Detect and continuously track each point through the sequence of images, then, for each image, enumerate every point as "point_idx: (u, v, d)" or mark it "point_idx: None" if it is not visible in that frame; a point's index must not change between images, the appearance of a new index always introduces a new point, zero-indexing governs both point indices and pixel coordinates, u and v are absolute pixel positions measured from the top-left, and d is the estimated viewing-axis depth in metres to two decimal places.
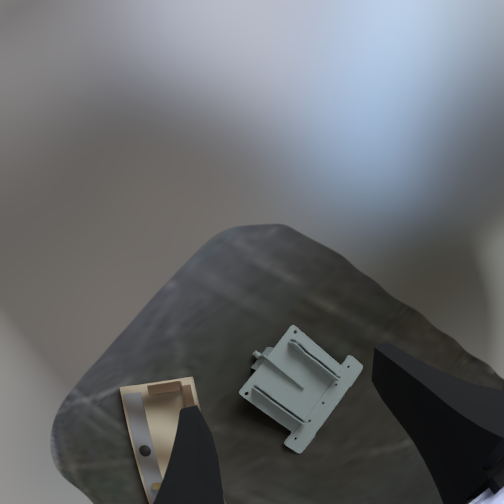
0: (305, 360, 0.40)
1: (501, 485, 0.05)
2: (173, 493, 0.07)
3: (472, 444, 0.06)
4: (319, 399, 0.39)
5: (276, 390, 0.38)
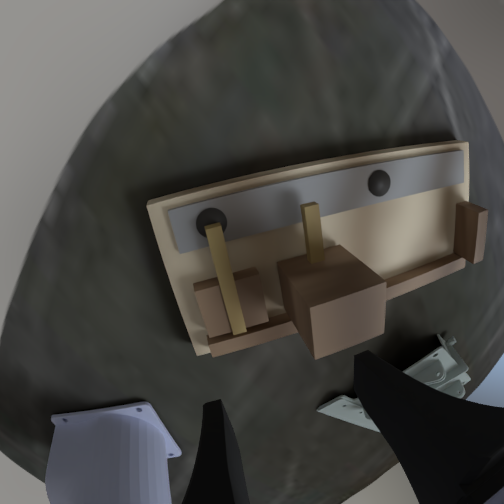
0: None
1: (479, 503, 0.05)
2: (204, 488, 0.07)
3: (449, 460, 0.06)
4: None
5: None
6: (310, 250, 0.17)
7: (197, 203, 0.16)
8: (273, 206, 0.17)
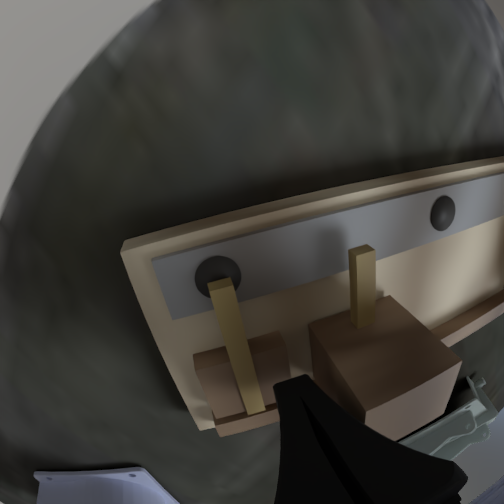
0: (454, 439, 0.22)
1: None
2: (299, 463, 0.07)
3: None
4: None
5: None
6: (358, 312, 0.12)
7: (195, 248, 0.11)
8: (308, 251, 0.12)
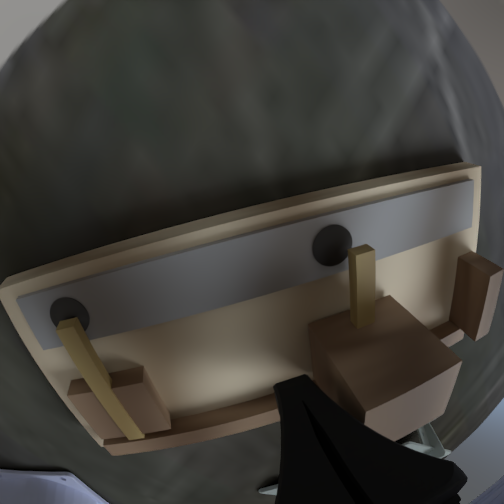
0: None
1: None
2: (300, 463, 0.07)
3: None
4: None
5: None
6: (358, 312, 0.12)
7: (46, 290, 0.10)
8: (151, 293, 0.11)
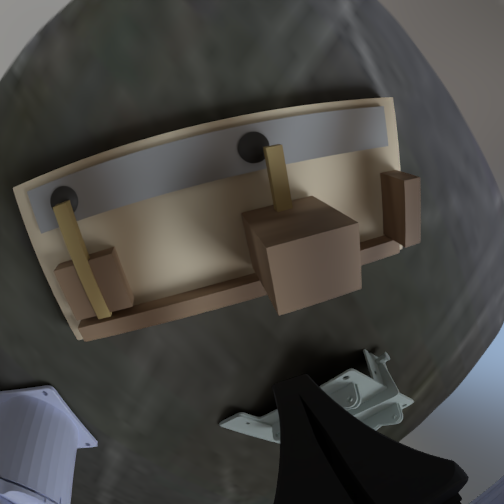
0: (363, 418, 0.26)
1: None
2: (299, 463, 0.07)
3: None
4: None
5: None
6: (275, 196, 0.16)
7: (50, 182, 0.14)
8: (122, 180, 0.15)
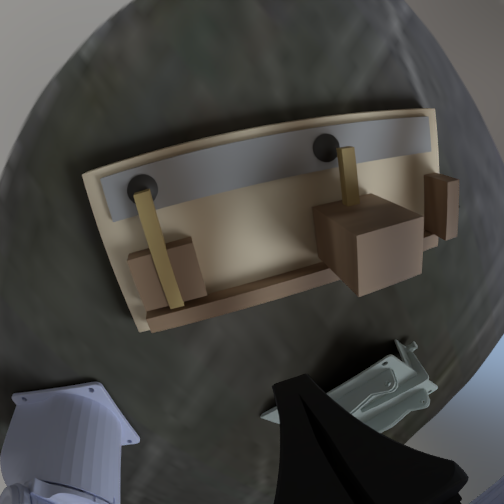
0: (393, 405, 0.27)
1: None
2: (299, 463, 0.07)
3: None
4: None
5: None
6: (346, 192, 0.17)
7: (128, 169, 0.15)
8: (205, 171, 0.16)
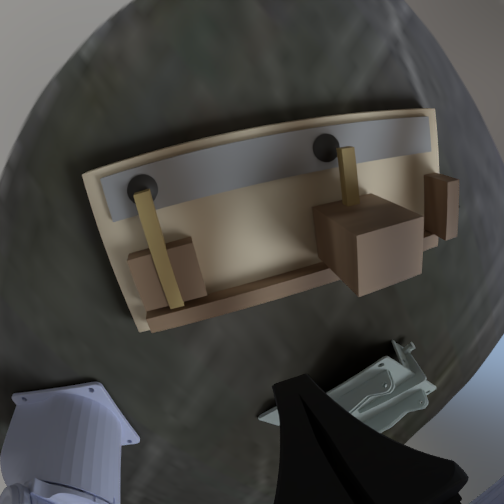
0: (391, 405, 0.27)
1: None
2: (299, 463, 0.07)
3: None
4: None
5: None
6: (346, 192, 0.17)
7: (128, 169, 0.15)
8: (205, 171, 0.16)
